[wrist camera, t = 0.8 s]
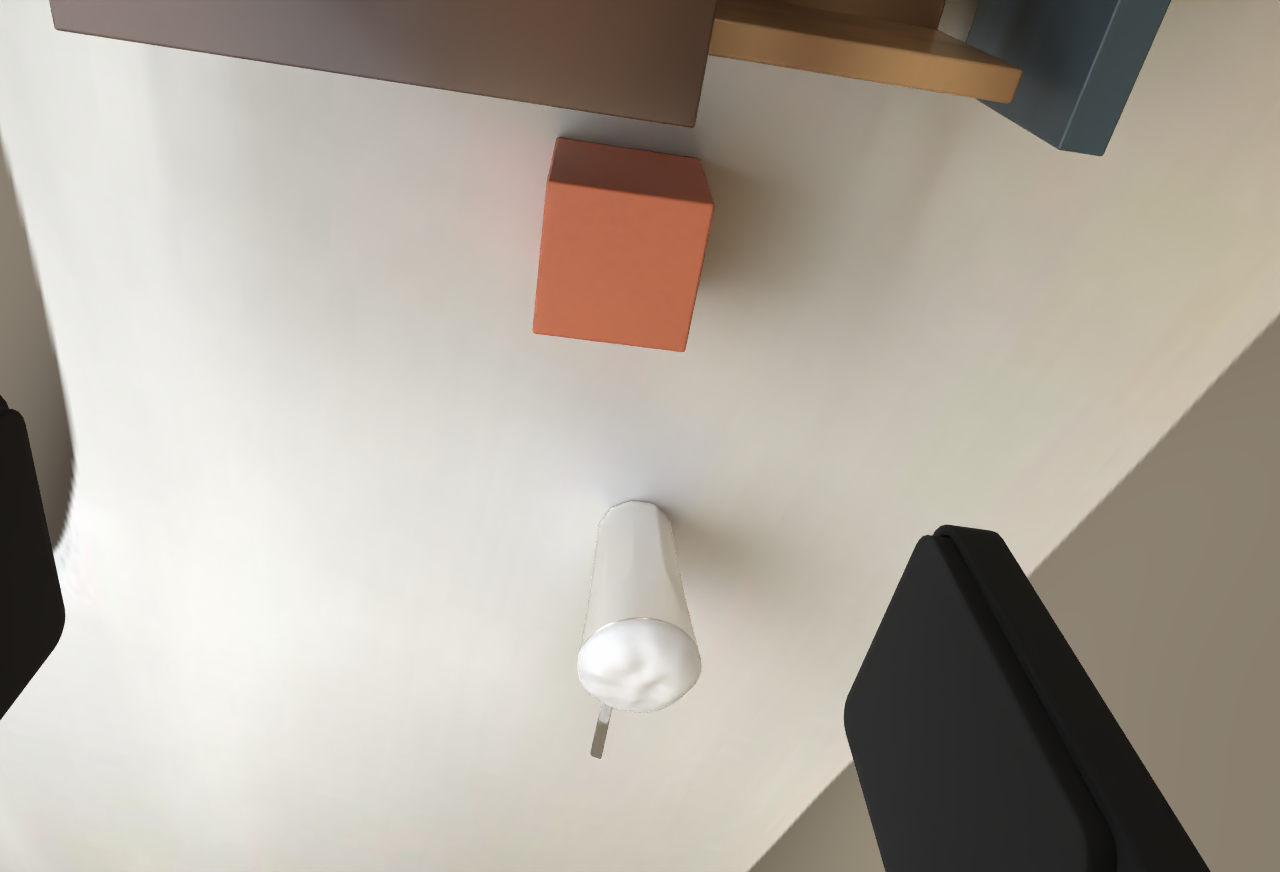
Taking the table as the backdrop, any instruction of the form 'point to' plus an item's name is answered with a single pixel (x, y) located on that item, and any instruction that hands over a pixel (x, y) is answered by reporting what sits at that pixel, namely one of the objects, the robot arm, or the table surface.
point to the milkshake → (636, 618)
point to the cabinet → (448, 44)
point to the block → (621, 245)
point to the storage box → (965, 53)
